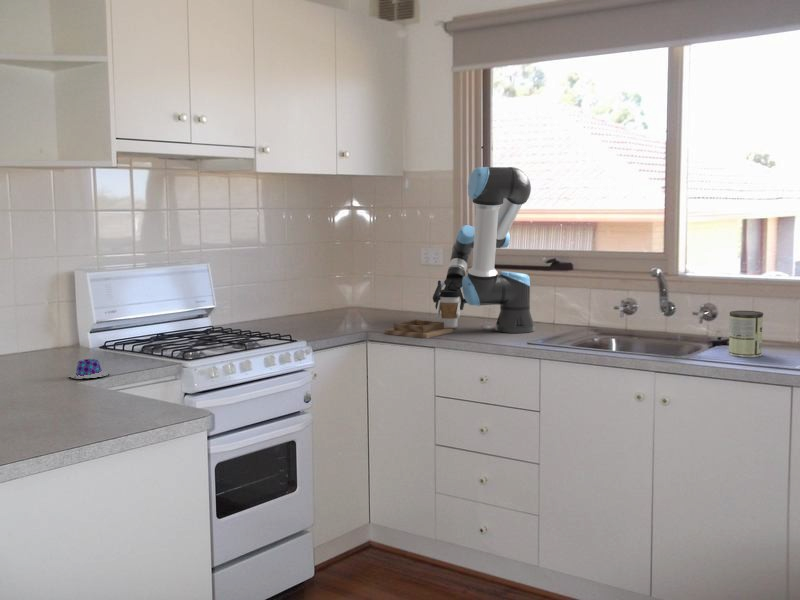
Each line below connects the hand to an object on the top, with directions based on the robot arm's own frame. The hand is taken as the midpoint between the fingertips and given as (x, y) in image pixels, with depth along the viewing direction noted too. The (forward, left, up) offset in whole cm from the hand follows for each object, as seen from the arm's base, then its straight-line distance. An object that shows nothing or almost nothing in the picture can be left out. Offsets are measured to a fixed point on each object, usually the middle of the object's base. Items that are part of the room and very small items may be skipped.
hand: (447, 315), depth 354 cm
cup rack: (+4, +14, -6) cm, 16 cm away
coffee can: (-114, -6, -6) cm, 114 cm away
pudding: (+37, +139, -6) cm, 144 cm away
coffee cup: (+1, -3, -5) cm, 6 cm away
